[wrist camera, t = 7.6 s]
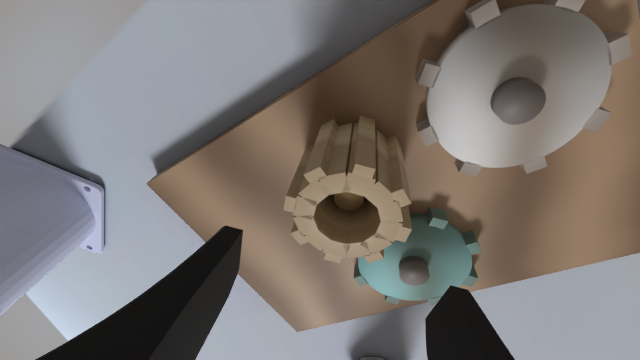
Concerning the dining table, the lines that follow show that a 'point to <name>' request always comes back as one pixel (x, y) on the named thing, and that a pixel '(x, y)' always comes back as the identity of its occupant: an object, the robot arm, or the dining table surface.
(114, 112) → the dining table surface
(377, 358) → the salt shaker
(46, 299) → the dining table surface
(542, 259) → the gear board
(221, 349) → the dining table surface
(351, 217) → the wooden gear
